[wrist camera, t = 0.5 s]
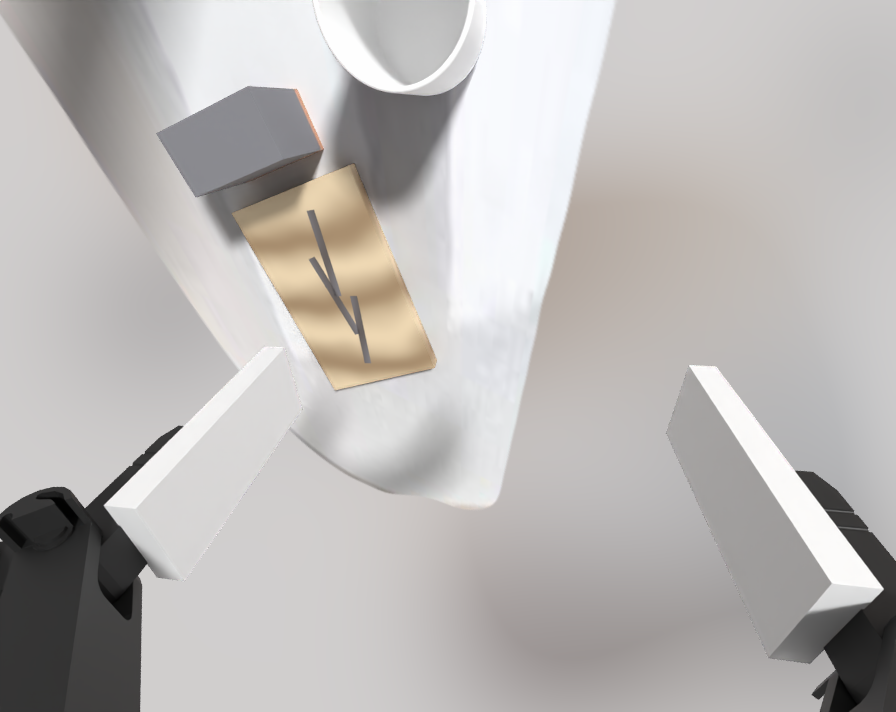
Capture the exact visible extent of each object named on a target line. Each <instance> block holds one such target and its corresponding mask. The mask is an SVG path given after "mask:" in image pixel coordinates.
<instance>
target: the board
mask: <svg viewBox="0 0 896 712" xmlns="http://www.w3.org/2000/svg"><path fill="white" fill-rule="evenodd" d="M231 214H232V215H233V217H234V219H235V220H236V222H237V224H238V225H239V227H240V229H241V231H242V232H243V234H244V236H245V237H246V239H247V241H248V243H249V244H250V246H251V248H252V249H253V251H254V253H255V254H256V256H257V258H258V260H259V261H260V263H261V265H262V266H263V268H264V270H265V272H266V273H267V275H268V277H269V278H270V280H271V282H272V283H273V285H274V287H275V289H276V290H277V292H278V294H279V295H280V297H281V299H282V301H283V302H284V304H285V306H286V307H287V309H288V311H289V313H290V314H291V316H292V318H293V319H294V321H295V323H296V324H297V326H298V328H299V330H300V331H301V333H302V335H303V336H304V338H305V340H306V342H307V343H308V345H309V347H310V348H311V350H312V352H313V353H314V355H315V357H316V359H317V360H318V362H319V364H320V365H321V367H322V369H323V371H324V372H325V374H326V376H327V377H328V379H329V381H330V382H331V384H332V386H333V388H334V389H335V390H339V389H343V388H348V387H352V386H356V385H361V384H365V383H370V382H374V381H379V380H383V379H388V378H392V377H397V376H401V375H405V374H410V373H414V372H419V371H423V370H428V369H432V368H435V365H436V362H437V359H436V357H435V354H434V352H433V350H432V347H431V345H430V343H429V340H428V338H427V335H426V333H425V331H424V328H423V326H422V324H421V321H420V319H419V316H418V314H417V312H416V309H415V307H414V305H413V302H412V300H411V297H410V295H409V293H408V290H407V288H406V286H405V283H404V281H403V278H402V276H401V274H400V271H399V269H398V267H397V264H396V262H395V259H394V257H393V255H392V252H391V250H390V248H389V245H388V243H387V240H386V238H385V236H384V233H383V231H382V229H381V226H380V224H379V221H378V219H377V217H376V214H375V212H374V209H373V207H372V205H371V202H370V200H369V198H368V195H367V193H366V190H365V188H364V186H363V183H362V181H361V179H360V176H359V174H358V171H357V169H356V167H355V164H351V165H348V166H346V167H343V168H341V169H338V170H336V171H334V172H331V173H329V174H326V175H324V176H321V177H319V178H316V179H314V180H312V181H309V182H307V183H304V184H302V185H299V186H297V187H294V188H292V189H289V190H287V191H285V192H282V193H280V194H277V195H275V196H272V197H270V198H267V199H265V200H262V201H260V202H258V203H255V204H253V205H250V206H248V207H245V208H243V209H240V210H238V211H236V212H233V213H231Z"/></svg>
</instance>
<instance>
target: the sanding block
mask: <svg viewBox="0 0 896 712" xmlns="http://www.w3.org/2000/svg"><path fill="white" fill-rule="evenodd" d="M156 134H157V136H158V137H159V139H160V140H161V142H162V144H163V145H164V147H165V149H166V150H167V152H168V153H169V155H170V157H171V158H172V160H173V162H174V163H175V165H176V166H177V168H178V170H179V171H180V173H181V174H182V176H183V178H184V179H185V181H186V183H187V184H188V186H189V187H190V189H191V191H192V192H193V194H194V195H195V197H199V196H202V195H206V194H209V193H212V192H216V191H219V190H222V189H226V188H229V187H232V186H236V185H239V184H242V183H246V182H249V181H251V180H253V179H256V178H258V177H260V176H263V175H265V174H267V173H270V172H272V171H274V170H277V169H279V168H281V167H284V166H286V165H288V164H291V163H293V162H295V161H297V160H300V159H302V158H304V157H307V156H309V155H311V154H314V153H316V152H318V151H321V150H323V149H324V148H323V146H322V144H321V142H320V139H319V137H318V135H317V133H316V131H315V128H314V126H313V124H312V122H311V119H310V117H309V115H308V113H307V110H306V108H305V106H304V104H303V101H302V99H301V97H300V95H299V92H298V90H297V89H284V88H267V87H250V86H248V87H246V88H244V89H242V90H240V91H238V92H236V93H234V94H232V95H230V96H228V97H226V98H224V99H222V100H220V101H218V102H217V103H215V104H213V105H211V106H209V107H207V108H205V109H203V110H201V111H199V112H197V113H195V114H193V115H191V116H189V117H187V118H185V119H184V120H182V121H180V122H178V123H176V124H174V125H172V126H170V127H168V128H166V129H164V130H162V131H160V132H158V133H156Z"/></svg>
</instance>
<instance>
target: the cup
mask: <svg viewBox="0 0 896 712" xmlns="http://www.w3.org/2000/svg"><path fill="white" fill-rule="evenodd" d="M312 2H313V7H314V11H315V16H316V19H317V22H318V25H319V28H320V30H321V33H322V35H323V37H324V39H325V41H326V43H327V45H328V47H329V49H330V50H331V52H332V53H333V55H334V56H335V58H336V59H337V60H338V62H339V63H340V64H341V65H342V66H343V67H344V69H345V70H346V71H347V72H348V73H350V74H351V75H352V76H353V77H354V78H356V79H357V80H359V81H360V82H361V83H363V84H365V85H367V86H369V87H371V88H373V89H376V90H379V91H383V92H388V93H398V94H409V95H420V96H431V95H437V94H441V93H444V92H446V91H449V90H450V89H452V88H454V87H455V86H457V85H458V84H459V83H460V82H461V81H463V80H464V79H465V77H466V76H467V75H468V74H469V73H470V71H471V70H472V68H473V67H474V65H475V63H476V61H477V60H478V57H479V55H480V53H481V50H482V47H483V43H484V39H485V33H486V23H487V14H486V3H485V0H312Z"/></svg>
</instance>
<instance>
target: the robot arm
mask: <svg viewBox="0 0 896 712" xmlns="http://www.w3.org/2000/svg"><path fill="white" fill-rule="evenodd" d="M302 410H303V408H302V405H301V401H300V398H299V394H298V391H297V387H296V384H295V381H294V377H293V374H292V370H291V367H290V363H289V360H288V356H287V353H286V349H285V347H264V348H263V349H262V350H261V351H260V352H259V353H258V354H257V355H255V356H254V357H253V358H252V359H251V360H250V361H249V362H248V363H247V364H246V365H245V366H244V367H243V368H242V369H241V370H240V371H239V372H238V373H237V374H236V376H234V377H233V378H232V379H231V380H230V381H229V382H228V383H227V384H226V385H225V386H224V387H223V388H222V389H221V390H220V391H219V392H218V393H217V394H216V395H215V396H214V397H213V398H212V399H211V400H210V401H209V402H208V403H207V404H206V405H205V406H204V407H203V408H202V409H201V410H200V411H199V412H198V413H197V414H196V415H195V416H194V417H193V418H192V419H191V420H190V421H189V422H188V423H187V424H186V425H185V426H177V427H176V428H174V429H173V430H171V431H170V432H168V433H166V434H164V435H163V436H161V437H160V438H158V440H156V441H155V442H154V443H153V444H152V445H151V446H150V447H149V448H148V449H147V450H146V451H145V454H142V455H141V456H140V457H139V458H137V459H136V460H135V461H134V462H133V465H132V466H129V467H128V468H127V469H126V470H125V471H124V472H123V473H122V474H121V475H120V476H119V477H117V479H115V480H114V482H112V483H111V484H110V485H109V486H108V487H107V488H106V489H105V490H104V491H103V492H102V493H101V494H100V495H99V496H98V497H96V498H95V499H94V500H93V501H92V502H91V503H90V504H89V505H88V506H87V507H86V508H84V507H83V506H82V504H81V503H80V502H79V501H78V499H77V498H76V497H75V495H74V494H73V493H72V492H71V491H70V490H69V489H67V488H65V487H51V488H47V489H43V490H39V491H37V492H34V493H32V494H30V495H28V496H25V497H23V498H22V499H20V500H18V501H17V502H15V503H14V504H12V505H11V506H9V507H8V508H7V509H5V510H4V511H3V512H2V513H1V514H0V538H1V539H2V540H3V541H2V542H0V712H140V685H141V679H140V678H141V619H142V616H141V615H142V584H141V580H140V578H139V577H138V575H139V573H140V572H141V571H142V569H143V568H144V567H145V565H147V564H148V566H149V567H150V568H151V570H152V571H153V572H154V574H155V575H156V576H157V577H158V578H165V579H172V580H180V581H185V580H186V579H187V578H188V576H189V575H190V573H191V572H192V570H193V569H194V567H195V566H196V564H197V563H198V561H199V560H200V559H201V557H202V556H203V554H204V553H205V551H206V550H207V548H208V547H209V545H210V544H211V542H212V541H213V540H214V538H215V537H216V535H217V533H218V532H219V531H220V529H221V528H222V526H223V525H224V523H225V522H226V521H227V519H228V518H229V516H230V515H231V513H232V512H233V510H234V509H235V507H236V506H237V504H238V503H239V502H240V500H241V499H242V497H243V496H244V494H245V493H246V491H247V490H248V488H249V487H250V485H251V484H252V483H253V481H254V480H255V478H256V477H257V475H258V474H259V472H260V471H261V469H262V468H263V467H264V465H265V464H266V462H267V460H268V459H269V458H270V456H271V455H272V453H273V452H274V450H275V449H276V448H277V446H278V445H279V443H280V442H281V440H282V439H283V437H284V436H285V434H286V433H287V431H288V430H289V429H290V427H291V426H292V424H293V423H294V421H295V420H296V418H297V417H298V415H299V414H300V412H301V411H302ZM666 434H667V436H668V438H669V440H670V443H671V445H672V447H673V449H674V452H675V454H676V456H677V458H678V460H679V463H680V465H681V467H682V469H683V471H684V474H685V476H686V478H687V480H688V482H689V484H690V487H691V489H692V491H693V493H694V495H695V498H696V500H697V502H698V504H699V506H700V509H701V511H702V513H703V515H704V518H705V520H706V522H707V524H708V526H709V528H710V531H711V533H712V535H713V537H714V540H715V542H716V544H717V546H718V548H719V551H720V553H721V555H722V557H723V559H724V561H725V564H726V566H727V568H728V570H729V573H730V575H731V577H732V579H733V581H734V584H735V586H736V588H737V590H738V592H739V595H740V597H741V599H742V601H743V603H744V605H745V608H746V610H747V612H748V614H749V617H750V619H751V621H752V623H753V625H754V628H755V630H756V632H757V634H758V636H759V638H760V640H761V643H762V645H763V647H764V650H765V652H766V654H767V656H768V658H772V659H779V660H786V661H794V662H801V663H809V664H810V663H811V662H812V661H813V660H814V659H815V658H816V657H817V656H818V655H819V654H820V653H821V652H822V651H823V650H824V649H825V651H826V653H827V655H828V657H829V658H830V660H831V662H832V664H833V665H834V667H835V669H836V670H835V671H834V672H833V673H832V674H831V675H830V676H829V677H828V678H826V679H825V680H824V681H823V682H822V683H821V684H820V685H819V686H818V687H817V688H816V689H815V691H814V692H813V694H812V695H813V696H814V697H815V698H817V699H820V698H821V697H822V696H823V695H824V694H825V695H824V698H823V702H822V706H821V709H820V712H896V561H895V560H894V558H893V557H892V556H891V555H890V554H889V552H888V551H887V550H886V549H885V548H884V546H883V545H882V544H881V543H880V542H879V540H878V539H877V538H876V537H875V535H874V534H873V533H872V532H869V531H868V527H867V526H866V525H865V524H864V522H863V521H862V520H861V519H860V518H859V516H858V515H855V514H854V510H853V509H852V508H851V507H850V505H849V504H848V503H847V502H846V500H845V499H844V498H843V497H842V496H841V494H840V493H839V492H838V491H837V490H836V489H835V488H833V487H832V486H831V485H830V484H828V483H827V482H826V481H824V480H823V479H821V478H820V477H819V476H818V475H816V474H815V473H814V472H807V471H794V469H793V468H792V467H791V465H790V464H789V463H788V461H787V460H786V459H785V457H784V456H783V455H782V454H781V452H780V451H779V449H778V448H777V447H776V445H775V444H774V443H773V441H772V440H771V439H770V438H769V436H768V435H767V434H766V432H765V431H764V430H763V428H762V427H761V426H760V424H759V423H758V422H757V421H756V419H755V418H754V416H753V415H752V414H751V412H750V411H749V410H748V408H747V407H746V406H745V404H744V403H743V402H742V400H741V399H740V398H739V397H738V395H737V394H736V393H735V391H734V390H733V388H732V387H731V386H730V384H729V383H728V382H727V381H726V379H725V378H724V377H723V375H722V374H721V373H720V371H719V370H718V369H717V367H714V366H692V365H689V366H688V370H687V372H686V375H685V378H684V381H683V384H682V387H681V390H680V393H679V396H678V399H677V402H676V405H675V408H674V411H673V414H672V417H671V420H670V423H669V426H668V429H667V432H666Z"/></svg>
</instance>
